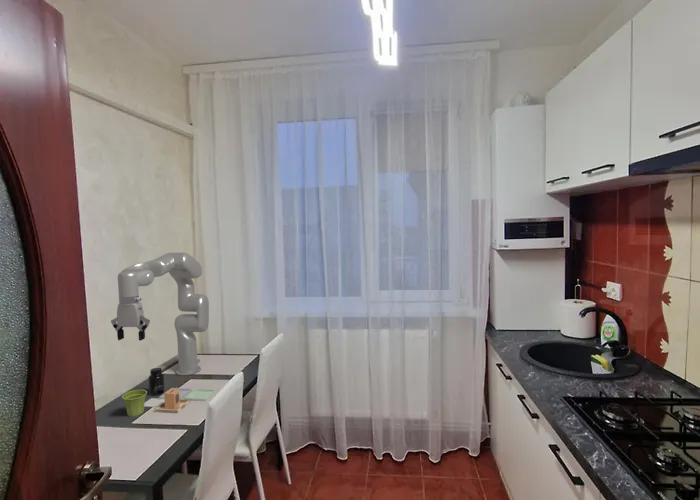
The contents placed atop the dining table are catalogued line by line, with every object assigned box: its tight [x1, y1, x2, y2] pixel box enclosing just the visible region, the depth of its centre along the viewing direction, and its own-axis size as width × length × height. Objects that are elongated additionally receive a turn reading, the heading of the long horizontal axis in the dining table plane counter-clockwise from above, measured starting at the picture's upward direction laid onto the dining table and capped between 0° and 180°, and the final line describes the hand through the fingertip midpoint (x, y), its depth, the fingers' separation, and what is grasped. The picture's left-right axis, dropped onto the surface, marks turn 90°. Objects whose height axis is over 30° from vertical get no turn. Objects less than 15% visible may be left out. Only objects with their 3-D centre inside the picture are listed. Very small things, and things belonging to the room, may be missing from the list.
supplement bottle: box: [147, 367, 166, 397], centre depth 194 cm, size 7×7×12 cm
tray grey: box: [158, 387, 193, 400], centre depth 191 cm, size 11×11×2 cm
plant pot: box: [121, 389, 148, 417], centre depth 173 cm, size 9×9×9 cm
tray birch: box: [153, 399, 191, 414], centre depth 179 cm, size 11×11×2 cm
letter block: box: [163, 388, 180, 410], centre depth 178 cm, size 4×5×7 cm
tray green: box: [182, 388, 217, 402], centre depth 190 cm, size 11×11×2 cm
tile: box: [144, 397, 165, 408], centre depth 183 cm, size 8×8×1 cm
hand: (131, 339), depth 176 cm, fingers open, 9 cm apart
